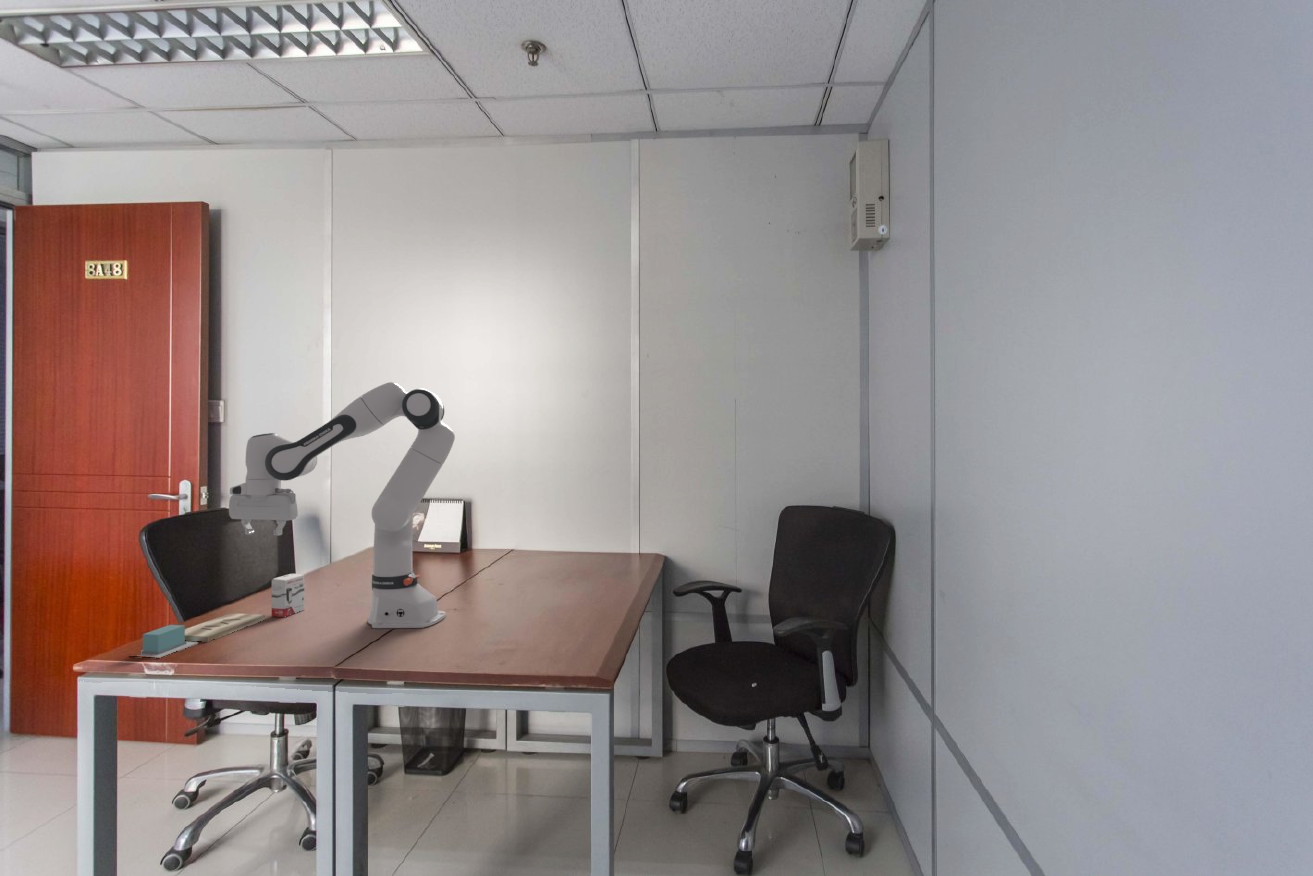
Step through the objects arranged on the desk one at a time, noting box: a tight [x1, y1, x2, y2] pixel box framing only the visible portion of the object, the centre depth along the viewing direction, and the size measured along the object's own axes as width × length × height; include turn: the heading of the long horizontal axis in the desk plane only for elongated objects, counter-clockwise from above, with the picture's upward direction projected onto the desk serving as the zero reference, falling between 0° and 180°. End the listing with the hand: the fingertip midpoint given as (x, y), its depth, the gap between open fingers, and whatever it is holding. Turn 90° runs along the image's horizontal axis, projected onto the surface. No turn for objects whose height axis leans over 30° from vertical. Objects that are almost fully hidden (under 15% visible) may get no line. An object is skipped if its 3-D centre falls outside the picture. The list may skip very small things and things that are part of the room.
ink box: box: [271, 573, 306, 618], centre depth 193 cm, size 9×5×12 cm, turn 168°
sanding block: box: [140, 624, 187, 655], centre depth 160 cm, size 5×8×5 cm, turn 173°
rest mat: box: [137, 641, 199, 659], centre depth 160 cm, size 9×11×1 cm
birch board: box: [185, 612, 266, 643], centre depth 177 cm, size 12×20×2 cm, turn 171°
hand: (263, 534), depth 180 cm, fingers open, 8 cm apart
